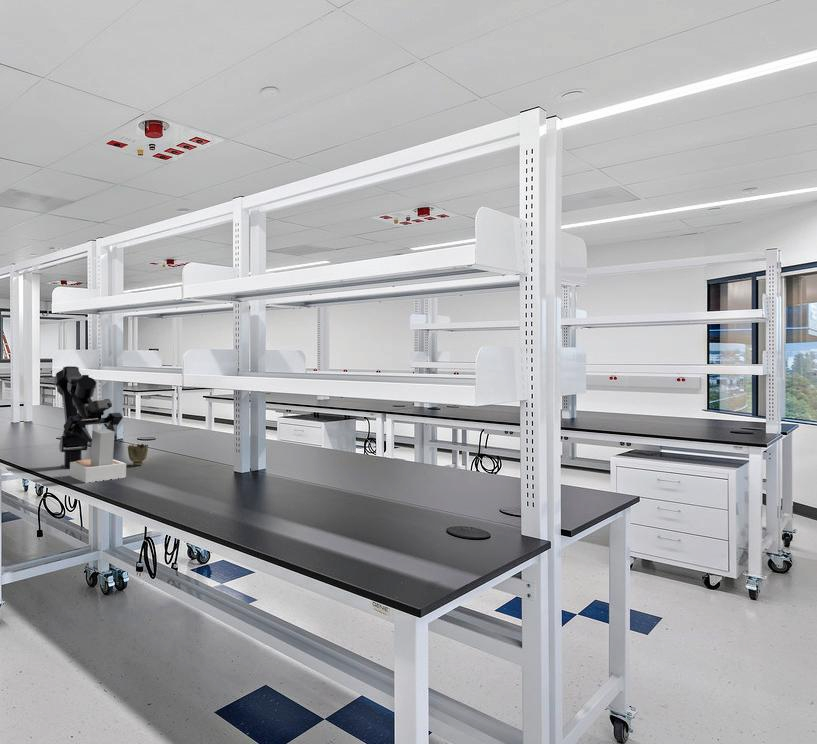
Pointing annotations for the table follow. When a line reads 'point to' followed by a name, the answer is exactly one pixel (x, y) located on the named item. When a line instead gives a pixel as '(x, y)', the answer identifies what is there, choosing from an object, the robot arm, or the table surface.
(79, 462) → the trapdoor
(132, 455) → the cup
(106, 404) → the robot arm
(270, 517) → the table surface
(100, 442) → the stone pillar
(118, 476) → the trapdoor frame
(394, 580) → the table surface
